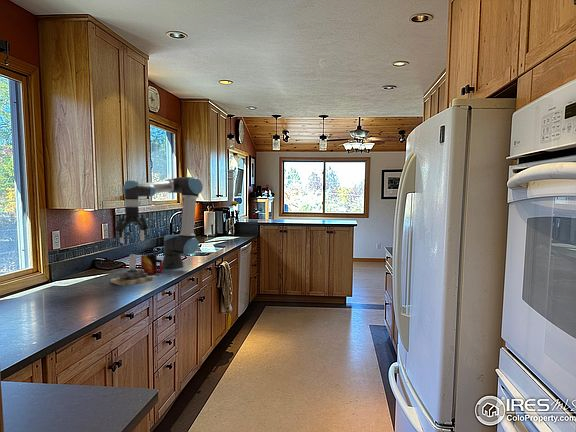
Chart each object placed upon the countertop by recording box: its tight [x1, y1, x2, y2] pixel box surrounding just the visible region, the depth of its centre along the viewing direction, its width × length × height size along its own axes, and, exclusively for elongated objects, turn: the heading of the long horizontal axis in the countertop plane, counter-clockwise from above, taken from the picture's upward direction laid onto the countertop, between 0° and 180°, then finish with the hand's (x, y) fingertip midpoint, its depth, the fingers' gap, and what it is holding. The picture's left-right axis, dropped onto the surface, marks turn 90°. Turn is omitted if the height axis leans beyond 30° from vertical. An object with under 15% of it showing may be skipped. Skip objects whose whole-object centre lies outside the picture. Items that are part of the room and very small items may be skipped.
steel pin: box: [128, 253, 137, 273], centre depth 231 cm, size 4×4×14 cm
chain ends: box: [110, 268, 154, 287], centre depth 231 cm, size 19×14×6 cm
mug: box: [140, 254, 163, 276], centre depth 252 cm, size 10×14×12 cm
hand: (132, 241), depth 231 cm, fingers open, 13 cm apart
